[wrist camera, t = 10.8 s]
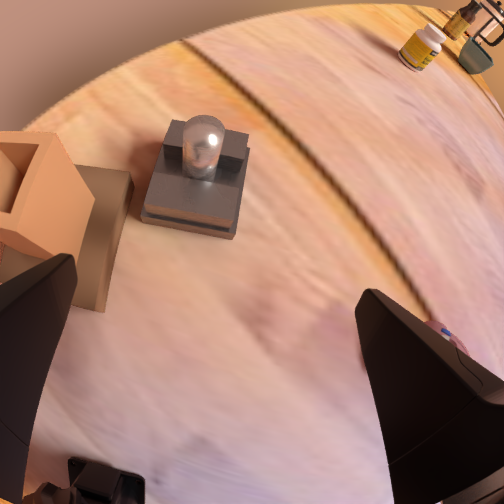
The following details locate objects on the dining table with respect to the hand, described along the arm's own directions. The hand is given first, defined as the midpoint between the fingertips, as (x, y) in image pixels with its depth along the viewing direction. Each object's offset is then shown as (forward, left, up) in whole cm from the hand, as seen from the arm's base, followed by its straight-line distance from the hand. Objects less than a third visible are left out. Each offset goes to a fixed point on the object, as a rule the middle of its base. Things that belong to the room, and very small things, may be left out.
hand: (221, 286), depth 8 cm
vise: (+9, +2, -13) cm, 16 cm away
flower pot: (+68, -55, -13) cm, 89 cm away
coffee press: (+124, -90, -13) cm, 154 cm away
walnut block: (+3, +11, -13) cm, 18 cm away
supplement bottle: (+45, -27, -13) cm, 54 cm away
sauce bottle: (+91, -59, -13) cm, 110 cm away
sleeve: (+3, +11, -10) cm, 16 cm away
